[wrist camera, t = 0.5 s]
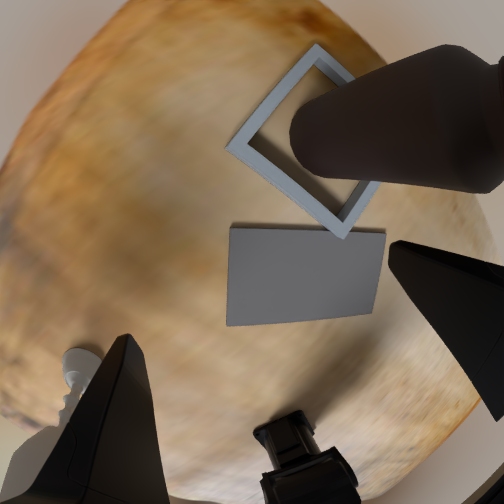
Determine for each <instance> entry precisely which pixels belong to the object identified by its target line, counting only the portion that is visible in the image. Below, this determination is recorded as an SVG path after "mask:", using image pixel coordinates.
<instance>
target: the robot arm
mask: <svg viewBox="0 0 504 504" xmlns="http://www.w3.org/2000/svg"><path fill="white" fill-rule="evenodd" d="M388 266H389V268H390V270H391V271H392V273H393V274H394V276H395V277H396V279H397V280H398V282H399V283H400V285H401V286H402V287H403V289H404V290H405V292H406V293H407V295H408V296H409V298H410V299H411V301H412V302H413V303H414V304H415V306H416V307H417V308H418V309H419V311H420V312H421V313H422V314H423V316H424V317H425V318H426V320H427V321H428V322H429V323H430V325H431V326H432V327H433V329H434V330H435V331H436V333H437V334H438V335H439V337H440V338H441V339H442V341H443V342H444V343H445V345H446V346H447V347H448V349H449V350H450V352H451V353H452V354H453V356H454V357H455V359H456V360H457V361H458V363H459V364H460V366H461V367H462V369H463V370H464V372H465V373H466V375H467V376H468V378H469V379H470V381H471V382H472V384H473V385H474V387H475V389H476V390H477V392H478V393H479V395H480V396H481V398H482V400H483V401H484V403H485V405H486V406H487V408H488V409H489V411H490V413H491V415H492V416H493V418H494V419H495V421H496V422H497V421H498V420H500V419H501V418H502V417H503V416H504V266H500V265H497V264H493V263H489V262H485V261H482V260H478V259H475V258H471V257H467V256H464V255H460V254H456V253H452V252H448V251H444V250H440V249H436V248H432V247H428V246H424V245H420V244H416V243H411V242H407V241H403V240H398V241H395V242H393V243H391V244H390V247H389V257H388ZM314 434H315V433H314V431H313V429H312V428H311V426H310V424H309V422H308V420H307V419H306V417H305V415H304V413H303V411H302V410H299V411H296V412H294V413H292V414H290V415H288V416H286V417H284V418H282V419H280V420H278V421H275V422H273V423H271V424H269V425H266V426H264V427H262V428H259V429H257V430H255V431H253V435H254V437H255V438H256V439H257V440H258V441H259V442H260V444H261V445H262V446H263V447H264V448H265V449H266V450H267V452H268V455H269V457H270V460H271V462H272V465H273V468H274V471H271V472H268V473H267V472H265V473H262V476H263V479H262V480H260V484H261V487H262V490H263V494H264V499H265V504H361V499H360V496H359V494H358V492H357V490H356V487H358V481H357V478H356V476H355V474H354V472H353V470H352V468H351V467H350V465H349V464H348V463H347V461H346V460H345V459H344V458H343V456H342V455H341V454H340V452H339V451H338V450H337V449H336V447H335V446H333V447H331V448H330V449H328V450H326V451H324V452H321V451H320V449H319V447H318V445H317V444H316V442H315V440H314V438H313V435H314ZM0 504H170V502H169V497H168V492H167V488H166V483H165V478H164V473H163V468H162V462H161V457H160V451H159V445H158V438H157V431H156V424H155V416H154V407H153V400H152V394H151V389H150V384H149V380H148V375H147V369H146V364H145V359H144V354H143V352H142V350H141V348H140V347H139V345H138V344H137V342H136V341H135V339H134V338H133V336H132V335H131V334H128V333H127V334H124V335H120V336H118V337H117V338H116V340H115V341H114V343H113V345H112V346H111V348H110V349H109V351H108V353H107V354H106V356H105V357H104V359H103V361H102V362H101V364H100V366H99V367H98V369H97V371H96V373H95V374H94V376H93V378H92V379H91V381H90V383H89V385H88V386H87V388H86V390H85V391H84V393H83V395H82V397H81V399H80V400H79V402H78V404H77V406H76V408H75V409H74V411H73V413H72V415H71V417H70V419H69V422H67V424H66V426H65V428H64V430H63V432H62V434H61V435H60V437H59V439H58V441H57V443H56V445H55V446H54V448H53V450H52V451H51V453H50V455H49V457H48V458H47V460H46V461H45V463H44V465H43V466H42V468H41V470H40V471H39V473H38V475H37V477H36V478H35V480H34V482H33V483H32V485H31V486H30V487H29V488H28V489H27V490H26V491H25V492H24V493H22V494H20V495H18V496H16V497H13V498H11V499H8V500H5V501H3V502H0ZM462 504H504V463H503V464H502V465H501V466H500V467H499V468H498V469H497V470H496V471H495V472H494V473H493V475H492V476H491V477H490V478H489V479H488V480H487V481H486V482H485V483H484V484H483V485H482V486H480V487H479V488H478V489H477V490H476V491H475V492H474V493H473V494H472V495H471V496H470V497H469V498H467V499H466V500H465V501H464V502H463V503H462Z"/></svg>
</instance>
